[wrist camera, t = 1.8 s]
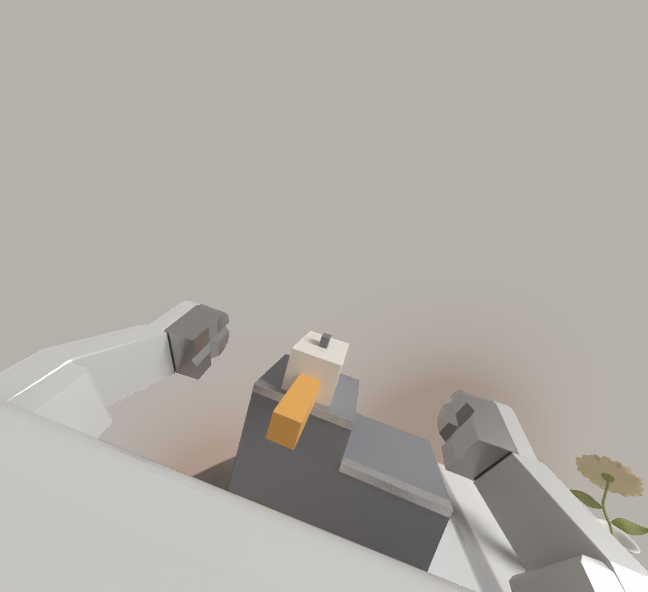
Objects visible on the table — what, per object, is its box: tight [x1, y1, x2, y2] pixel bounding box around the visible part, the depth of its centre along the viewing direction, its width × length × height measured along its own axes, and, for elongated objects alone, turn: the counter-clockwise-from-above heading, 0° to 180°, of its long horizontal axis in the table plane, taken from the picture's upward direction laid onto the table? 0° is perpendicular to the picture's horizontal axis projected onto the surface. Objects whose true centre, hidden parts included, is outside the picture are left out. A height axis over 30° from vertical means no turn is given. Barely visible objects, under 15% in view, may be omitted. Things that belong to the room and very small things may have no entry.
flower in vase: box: [570, 455, 648, 554], centre depth 41 cm, size 13×11×25 cm
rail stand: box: [228, 354, 453, 572], centre depth 38 cm, size 12×28×26 cm, turn 78°
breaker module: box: [266, 331, 349, 450], centre depth 32 cm, size 19×7×8 cm, turn 168°
